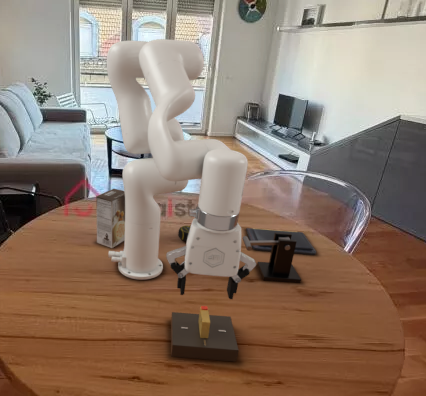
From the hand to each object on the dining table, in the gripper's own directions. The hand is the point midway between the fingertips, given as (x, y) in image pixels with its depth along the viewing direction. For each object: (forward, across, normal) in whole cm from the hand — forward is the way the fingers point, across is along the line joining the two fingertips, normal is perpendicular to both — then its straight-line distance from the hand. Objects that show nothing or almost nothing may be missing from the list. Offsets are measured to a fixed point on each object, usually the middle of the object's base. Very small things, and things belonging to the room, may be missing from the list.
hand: (205, 292), depth 74 cm
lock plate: (+12, 0, -1) cm, 12 cm away
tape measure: (+13, 0, +46) cm, 48 cm away
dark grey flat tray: (+13, +30, +48) cm, 58 cm away
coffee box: (+14, -24, +41) cm, 50 cm away
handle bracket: (+12, +24, +28) cm, 39 cm away
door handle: (+4, +20, +28) cm, 35 cm away
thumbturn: (+9, 0, -1) cm, 9 cm away
